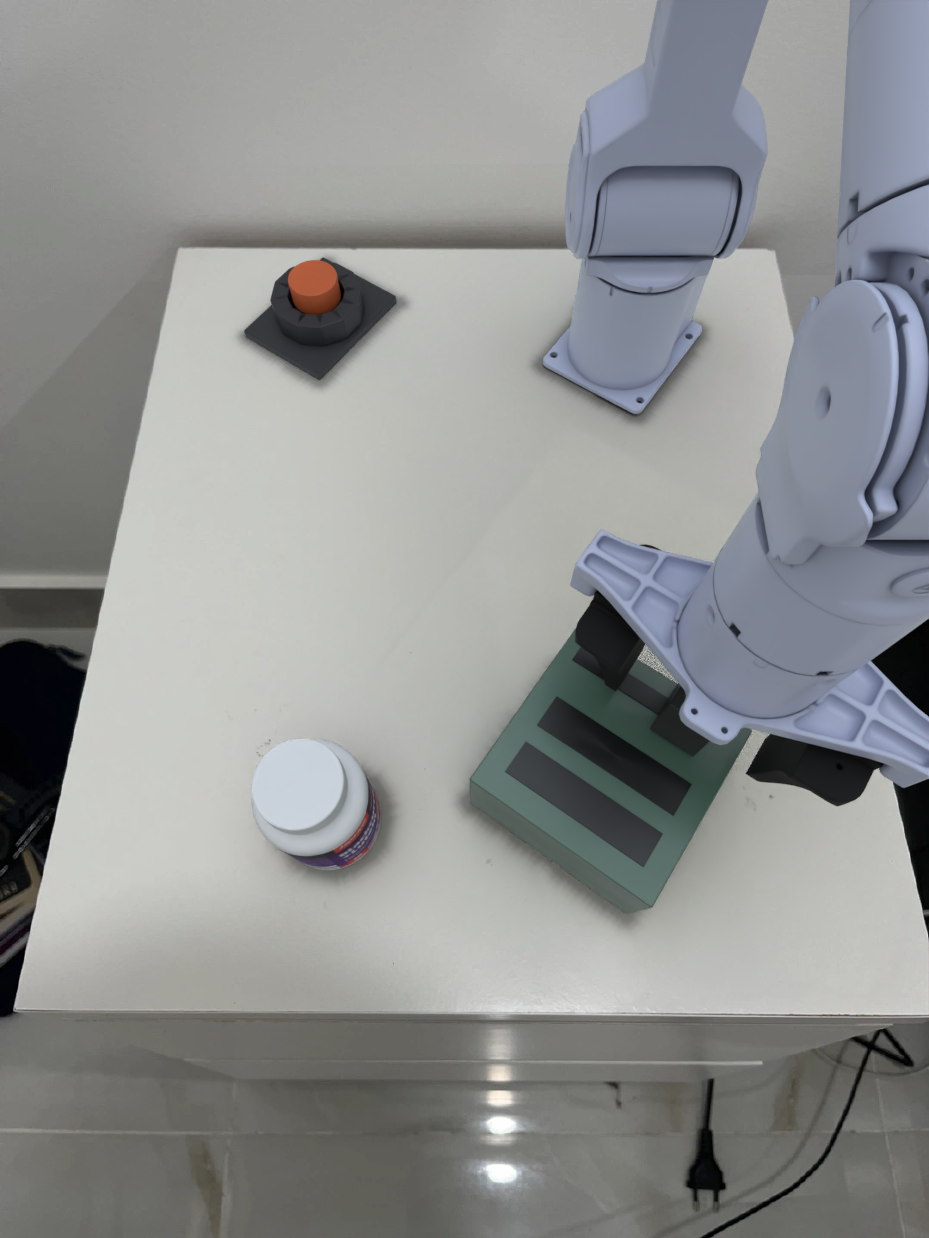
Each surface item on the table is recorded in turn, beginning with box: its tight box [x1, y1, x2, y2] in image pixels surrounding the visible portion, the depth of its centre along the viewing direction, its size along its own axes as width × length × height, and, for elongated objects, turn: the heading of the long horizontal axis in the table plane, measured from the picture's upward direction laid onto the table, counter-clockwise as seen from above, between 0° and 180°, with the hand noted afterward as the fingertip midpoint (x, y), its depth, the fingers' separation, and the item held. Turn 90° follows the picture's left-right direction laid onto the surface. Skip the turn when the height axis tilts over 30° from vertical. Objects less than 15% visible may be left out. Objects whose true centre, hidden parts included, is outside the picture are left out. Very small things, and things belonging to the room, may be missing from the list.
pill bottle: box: [251, 737, 382, 871], centre depth 37 cm, size 5×5×10 cm
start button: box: [288, 259, 341, 315], centre depth 53 cm, size 3×3×2 cm
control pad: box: [243, 257, 397, 381], centre depth 55 cm, size 9×7×2 cm
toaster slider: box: [650, 682, 710, 756], centre depth 35 cm, size 3×2×4 cm
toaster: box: [469, 627, 753, 915], centre depth 39 cm, size 10×10×6 cm
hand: (689, 715), depth 37 cm, fingers open, 7 cm apart
